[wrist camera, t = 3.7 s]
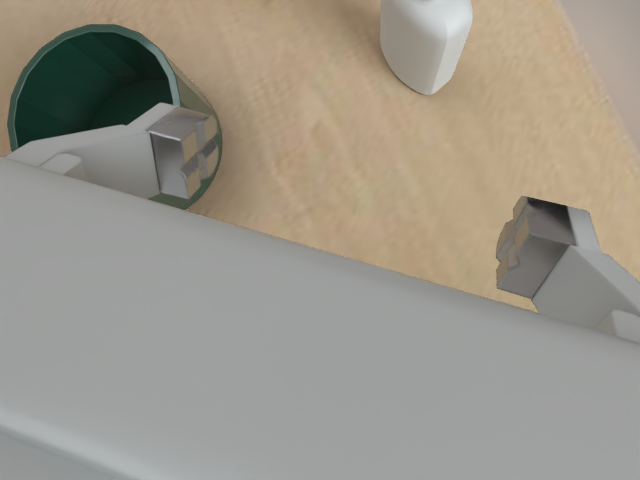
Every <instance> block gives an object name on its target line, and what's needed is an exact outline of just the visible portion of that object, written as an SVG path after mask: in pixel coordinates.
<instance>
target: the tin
mask: <svg viewBox="0 0 640 480" xmlns="http://www.w3.org/2000/svg"><path fill="white" fill-rule="evenodd" d="M159 103H166V104H171V105H175V106H179V107H182V108H185V109H189V110H193V111H196V112H200V113H203V114H207V115H211V116H213V117H214V118H215V120H216V122H217V133H216V134H215V136H214V137H213V139H214V141H215V143H216V144H217V146H218V162H217V165H216V167H215V170H214V172H213V173H212V174H211V176H210V177H209V178H206V179H203V180H200V183H201V187H200V188H199V189H198V190H197V191H196V192H195V193H194V194H193V195H192V196H191V198H190V199H189V200H188V199H184V198H180V197H177V196H173V195H169V194H165V193H161V192H160V194H158V195H156V196H153V197H151V198H149V199H148V200H152V201H155V202H159V203H162V204H165V205H169V206H172V207H176V208H179V209H183V210H185V209H186V208H188V207H189V206H191V205H192V204H193V203H194V202H196V201H197V200H198V199H199V198H200V197H201V196H202V195H203V193H204V192H205V191H206V190H207V188H208V187H209V185H210V184H211V182H212V180H213V179H214V176H215V174H216V172H217V169H218V166H219V163H220V159H221V152H222V134H221V128H220V124H219V121H218V118H217V115H216V113H215V111H214V109H213V108H212V106H211V104H210V103H209V102H208V100H207V99H206V97H205V96H204V95H203V93H202V92H201V91H200V90H199V89H198V88H197V87H196V86H195V85H194V84H193V83H192V82H191V81H190V80H189V79H188V78H187V77H186V76H185V75H184V74H183V73H182V71H181V70H180V69H179V68H178V67H177V66H176V65H175V64H174V63H173V62H172V61H171V60H170V59H169V58H168V57H167V56H166V55H165V54H164V53H163V52H162V51H161V50H160V49H159V48H158V47H157V46H156V45H154V44H153V43H152V42H151V41H150V40H148V39H147V38H146V37H145V36H143V35H142V34H141V33H139V32H136V31H133V30H130V29H127V28H124V27H122V26H119V25H115V24H90V25H86V26H82V27H79V28H76V29H73V30H70V31H67V32H64V33H62V34H61V35H59V36H58V37H56V38H55V39H53V40H52V41H50V42H49V43H48V44H46V45H45V46H43V47H42V48H41V49H39V51H38V52H37V53H36V54H35V56H34V57H33V58H32V59H31V60H30V62H29V63H28V64H27V65H26V67H25V68H24V69H23V71H22V72H21V75H20V77H19V79H18V81H17V84H16V86H15V88H14V91H13V93H12V95H11V99H10V107H9V114H8V122H7V124H8V125H7V127H8V133H9V139H10V145H11V151H12V152H13V151H15V150H17V149H18V148H20V147H22V146H24V145H25V144H27V143H29V142H30V141H35V140H41V139H46V138H52V137H57V136H62V135H68V134H73V133H78V132H84V131H89V130H94V129H100V128H105V127H110V126H116V125H125V126H127V125H128V124H130V123H131V122H133V121H134V120H136V119H137V118H138V117H140V116H141V115H143V114H144V113H146V112H147V111H149V110H150V109H151V108H153V107H154V106H156V105H157V104H159Z"/></svg>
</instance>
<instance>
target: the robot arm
mask: <svg viewBox="0 0 640 480" xmlns="http://www.w3.org/2000/svg"><path fill="white" fill-rule="evenodd" d="M216 133H217V122H216V120H215V118H214V117H213V116H211V115H207V114H203V113H200V112H196V111H193V110H189V109H185V108H182V107H179V106H175V105H171V104H166V103H159V104H157V105H156V106H154V107H153V108H151V109H150V110H149V111H147V112H146V113H144V114H143V115H141V116H140V117H138V118H137V119H136V120H134V121H133V122H131V123H130V124H128V125H127V126H125V125H116V126H110V127H105V128H100V129H94V130H89V131H84V132H78V133H73V134H68V135H62V136H57V137H52V138H46V139H41V140H35V141H30V142H29V143H27V144H25V145H24V146H22V147H20V148H18V149H17V150H15V151H13V152H12V153H10V154H8V155H7V156H5V157H1V156H0V480H640V282H639V281H638V280H636V279H635V278H634V277H633V276H632V275H631V274H630V273H629V272H627V271H626V270H625V269H624V268H623V267H622V266H621V265H619V264H618V263H617V262H616V261H615V260H614V259H613V258H612V257H610V256H609V255H608V254H604V253H601V249H600V246H599V243H598V240H597V236H596V233H595V230H594V227H593V223H592V220H591V217H590V214H589V212H588V211H586V210H582V209H578V208H573V207H568V206H565V205H560V204H556V203H552V202H547V201H543V200H539V199H534V198H530V197H526V196H521V197H520V199H519V200H518V201H517V203H516V205H515V207H514V208H513V218H514V219H513V220H511V221H509V222H507V223H505V225H504V227H503V229H502V232H501V234H500V237H499V240H498V243H497V248H496V258H497V259H498V261H499V262H500V264H499V266H498V268H497V269H496V276H497V288H498V289H501V290H504V291H507V292H510V293H514V294H517V295H520V296H523V297H526V298H530V299H532V300H531V301H532V303H533V304H534V306H535V307H536V309H537V310H538V312H539V313H540V314H539V313H536V312H533V311H529V310H526V309H522V308H519V307H516V306H512V305H509V304H505V303H502V302H498V301H495V300H491V299H488V298H485V297H481V296H478V295H474V294H471V293H467V292H464V291H461V290H457V289H454V288H450V287H447V286H443V285H440V284H437V283H433V282H430V281H426V280H423V279H419V278H416V277H412V276H409V275H406V274H402V273H399V272H395V271H392V270H388V269H385V268H382V267H378V266H375V265H371V264H368V263H364V262H361V261H358V260H354V259H351V258H347V257H344V256H340V255H337V254H334V253H330V252H327V251H323V250H320V249H316V248H313V247H310V246H306V245H303V244H299V243H296V242H292V241H289V240H285V239H282V238H279V237H275V236H272V235H268V234H265V233H261V232H258V231H255V230H251V229H248V228H244V227H241V226H237V225H234V224H231V223H227V222H224V221H220V220H217V219H213V218H210V217H207V216H203V215H200V214H196V213H193V212H189V211H186V210H183V209H179V208H176V207H172V206H169V205H165V204H162V203H159V202H155V201H152V200H148V199H149V198H151V197H153V196H156V195H158V194H160V192H161V193H165V194H169V195H173V196H177V197H180V198H184V199H188V200H189V199H190V198H191V196H192V195H193V194H194V193H195V192H196V191H197V190H198V189H199V188H200V187H201V183H200V180H203V179H206V178H209V177H210V176H211V174H212V173H213V172H214V170H215V167H216V165H217V162H218V146H217V144H216V143H215V141H214V139H213V137H214V136H215V134H216Z"/></svg>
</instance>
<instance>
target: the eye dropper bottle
mask: <svg viewBox="0 0 640 480" xmlns="http://www.w3.org/2000/svg"><path fill="white" fill-rule="evenodd" d="M472 21H473V11H472V6H471V3H470V0H381V18H380V45H381V49H382V52H383V55H384V57H385V59H386V62H387V63H388V65H389V67H390V68H391V70H392V71H393V73H394V74H395V75H396V76H397V77H398V78H399V79H400V80H401V81H402V82H403V83H404V84H406V85H407V86H409V87H410V88H412V89H413V90H415V91H417V92H419V93H421V94H424V95H431V94H434V93H435V92H437V91H438V90H439V89H440V88H441V87H443V86H444V85H445V84H446V83H447V82H449V81H450V79H451V78H452V76H453V73H454V71H455V68H456V65H457V63H458V60H459V58H460V55H461V52H462V50H463V47H464V44H465V42H466V39H467V37H468V34H469V31H470V28H471V25H472Z"/></svg>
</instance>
